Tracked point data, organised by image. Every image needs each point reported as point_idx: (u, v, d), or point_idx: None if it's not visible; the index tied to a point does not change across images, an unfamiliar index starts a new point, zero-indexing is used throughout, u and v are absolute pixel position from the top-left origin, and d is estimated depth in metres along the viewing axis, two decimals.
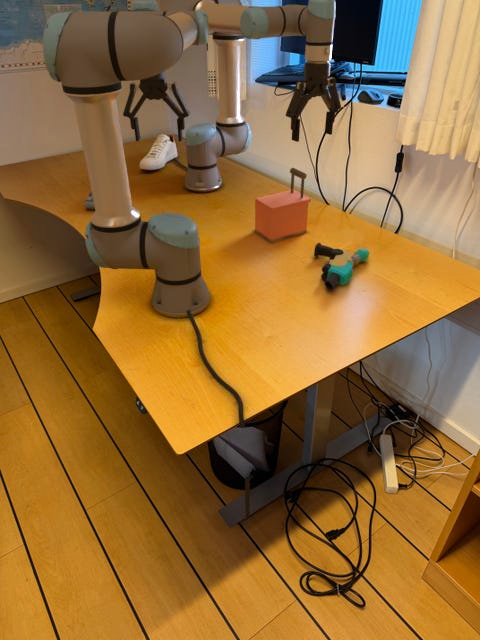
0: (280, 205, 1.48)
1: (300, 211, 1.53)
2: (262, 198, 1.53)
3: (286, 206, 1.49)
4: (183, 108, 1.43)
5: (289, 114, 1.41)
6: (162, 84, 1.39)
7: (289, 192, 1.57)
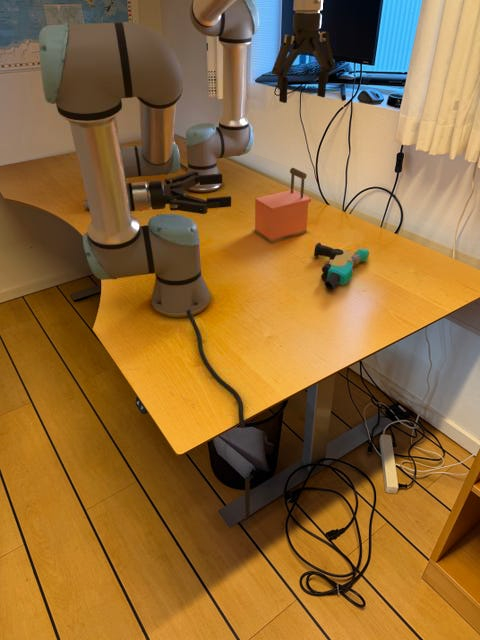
0: (280, 205, 1.48)
1: (300, 211, 1.53)
2: (262, 198, 1.53)
3: (286, 206, 1.49)
4: (187, 174, 1.36)
5: (275, 71, 1.29)
6: (166, 185, 1.31)
7: (289, 192, 1.57)
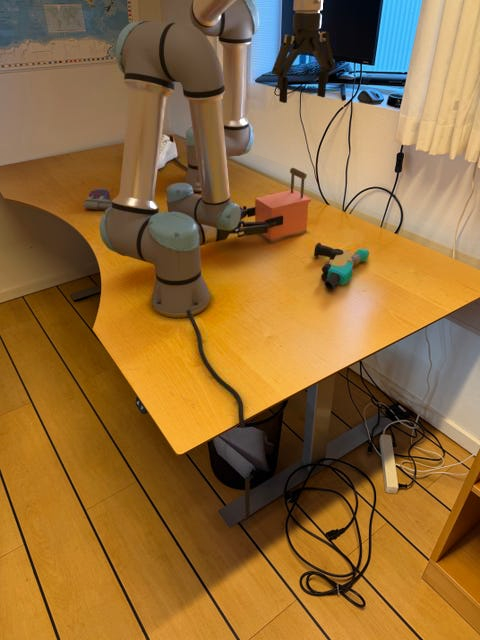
0: (280, 205, 1.48)
1: (300, 210, 1.53)
2: (262, 198, 1.53)
3: (286, 206, 1.49)
4: None
5: (275, 71, 1.29)
6: None
7: (289, 192, 1.57)
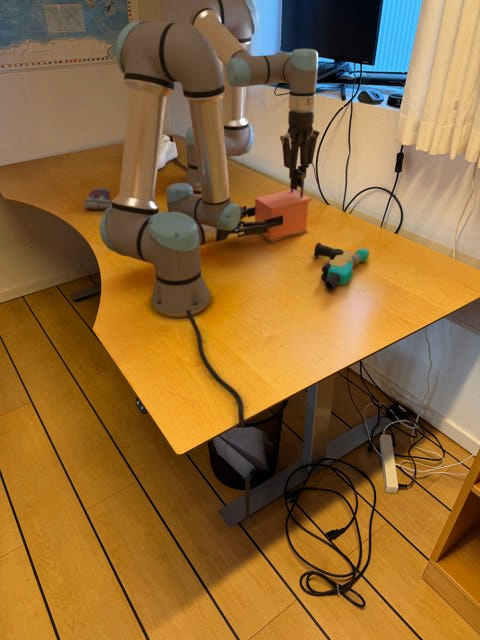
0: (280, 205, 1.48)
1: (300, 210, 1.53)
2: (262, 198, 1.53)
3: (286, 206, 1.49)
4: None
5: (287, 165, 1.46)
6: None
7: (289, 192, 1.57)
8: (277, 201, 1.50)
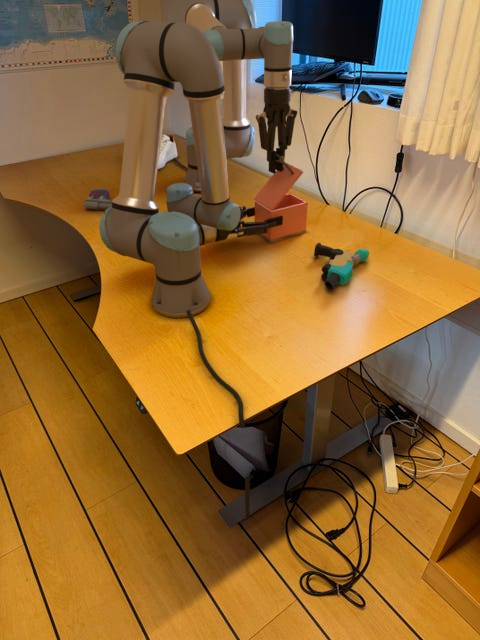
0: (276, 199, 1.46)
1: (300, 210, 1.53)
2: (259, 195, 1.52)
3: (282, 196, 1.46)
4: None
5: (264, 146, 1.39)
6: None
7: None
8: (273, 193, 1.48)
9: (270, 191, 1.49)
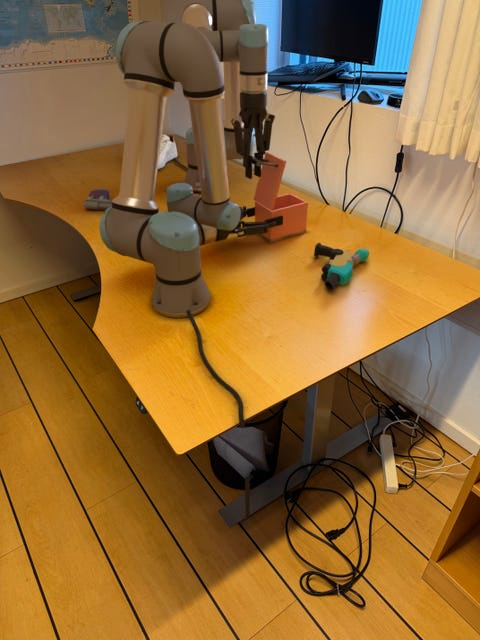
0: (272, 197, 1.45)
1: (300, 210, 1.53)
2: (257, 195, 1.51)
3: (276, 192, 1.44)
4: None
5: (239, 151, 1.36)
6: None
7: (266, 162, 1.46)
8: (267, 191, 1.47)
9: (264, 189, 1.48)
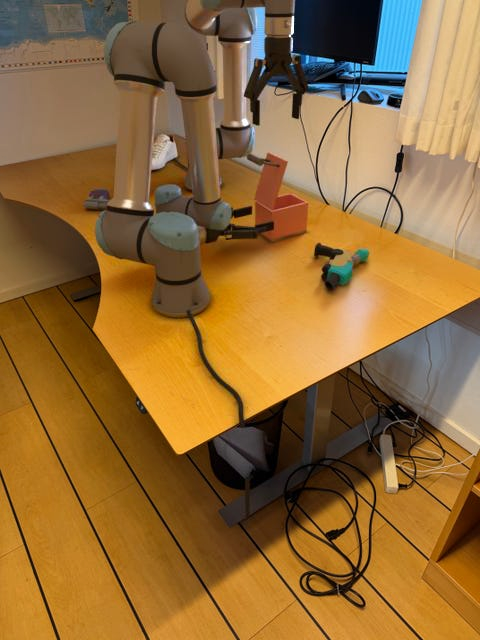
0: (272, 197, 1.45)
1: (300, 210, 1.53)
2: (257, 195, 1.51)
3: (277, 192, 1.44)
4: None
5: (247, 94, 1.28)
6: None
7: None
8: (268, 191, 1.47)
9: (265, 189, 1.48)
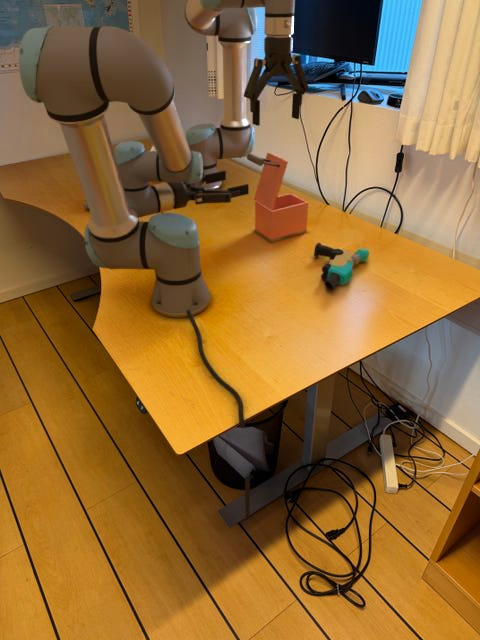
0: (273, 197, 1.45)
1: (300, 210, 1.53)
2: (257, 195, 1.51)
3: (277, 192, 1.44)
4: None
5: (247, 94, 1.28)
6: None
7: None
8: (268, 191, 1.47)
9: (265, 189, 1.48)
